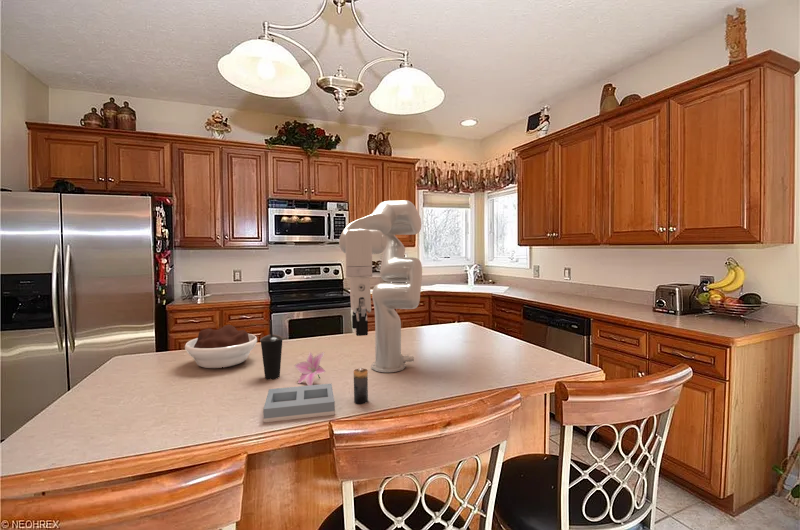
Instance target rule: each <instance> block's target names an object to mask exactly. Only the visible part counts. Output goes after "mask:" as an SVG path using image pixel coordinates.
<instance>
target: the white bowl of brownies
mask: <svg viewBox="0 0 800 530" xmlns="http://www.w3.org/2000/svg"><path fill="white" fill-rule="evenodd" d="M257 343H258V337H257V336H256V335H254V334H252V333H248V332H247V331H246V329H240V330H238V329H237V328H236V327H235V326H233V325H231V324H226V325H223V326H222V327H220V328H219V329H212V328H206V329H201V330H200V331H199V332H198V335H197V337H196V338H193V339H190V340H188V341H187V342H186V343H185V345H184V349H185V351H186V352H187V354H188V355H189V357H191V358H193V360H194V361H195V363H196V365H197V366H199V367H202V368H205V369H219V368H220V369H222V367H223V368H228V367H233V366H237V365H239V364H241V363H243V362H245V361H246V360H247V359H248V358H249V355H250V353H251V351H253V349H254V348H255V346H256V344H257Z"/></svg>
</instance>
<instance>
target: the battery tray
mask: <svg viewBox="0 0 800 530" xmlns="http://www.w3.org/2000/svg"><path fill="white" fill-rule="evenodd" d="M265 399H266V400H265V402H264V404H263V405H264V406H263V408H262V409H263V412H262V413H263V417H262V418H263V423H271V422H280V421H288V420H289V421H290V420H299V419H307V418H316V417H317V418H318V417H328V416H334V415H335V414H336V413H335V411H336V410H335V405H336V403H335V397H334V391H333V384H332V383H322V384H321V383H320V384H313V385H309V386H308V385H301V386H289V387H278V388H269V389H268V392H267V395H266V398H265Z"/></svg>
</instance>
